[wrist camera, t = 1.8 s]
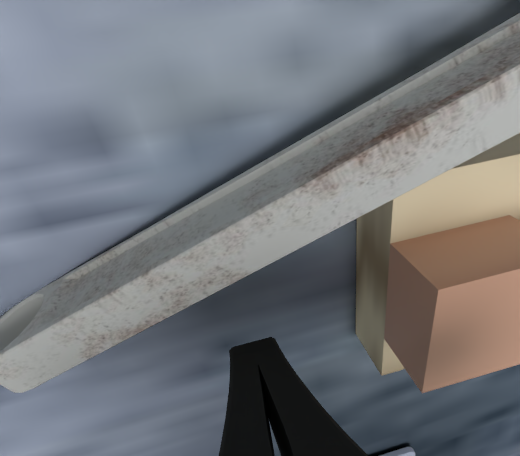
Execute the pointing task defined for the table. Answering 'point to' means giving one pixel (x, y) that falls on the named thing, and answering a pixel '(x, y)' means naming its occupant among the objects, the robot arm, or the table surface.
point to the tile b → (455, 302)
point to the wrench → (272, 209)
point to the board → (428, 230)
